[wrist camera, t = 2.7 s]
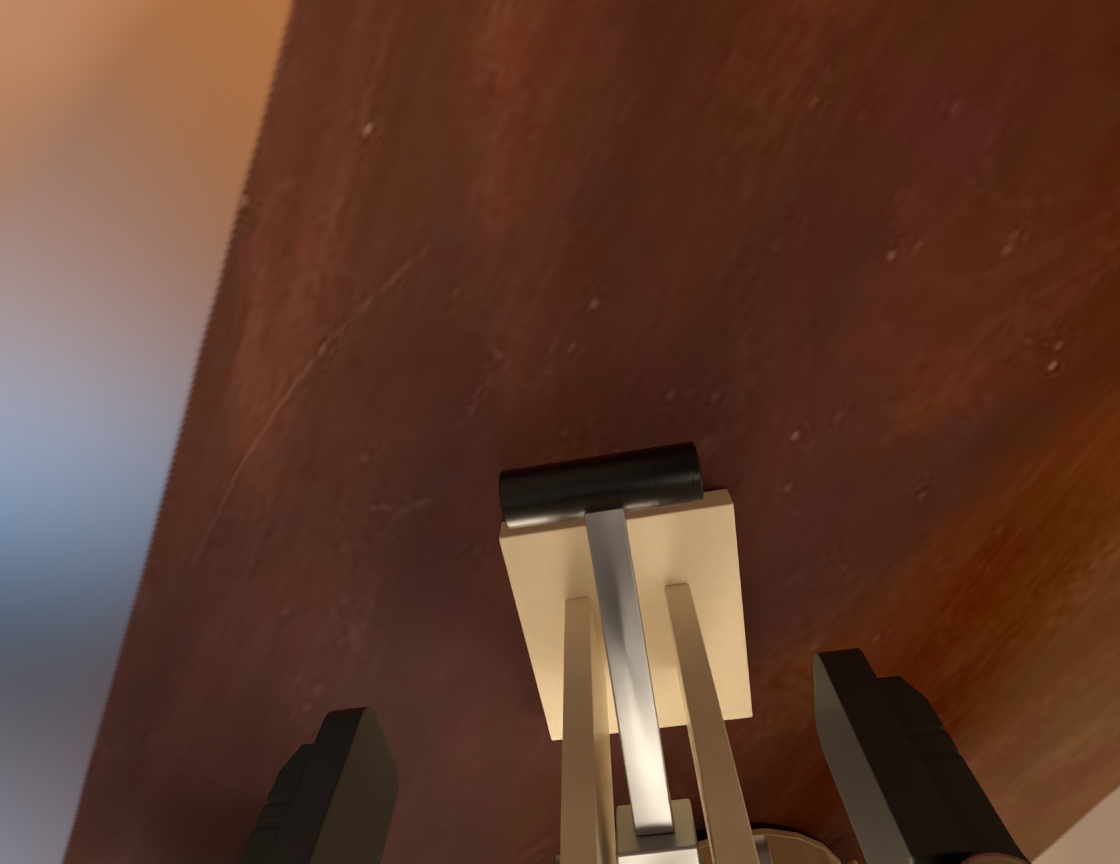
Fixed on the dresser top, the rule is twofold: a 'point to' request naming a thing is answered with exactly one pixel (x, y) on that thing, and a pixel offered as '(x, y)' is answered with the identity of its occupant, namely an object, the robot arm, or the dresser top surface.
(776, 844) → the alarm clock
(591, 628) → the bracket
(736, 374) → the dresser top surface
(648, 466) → the lever
